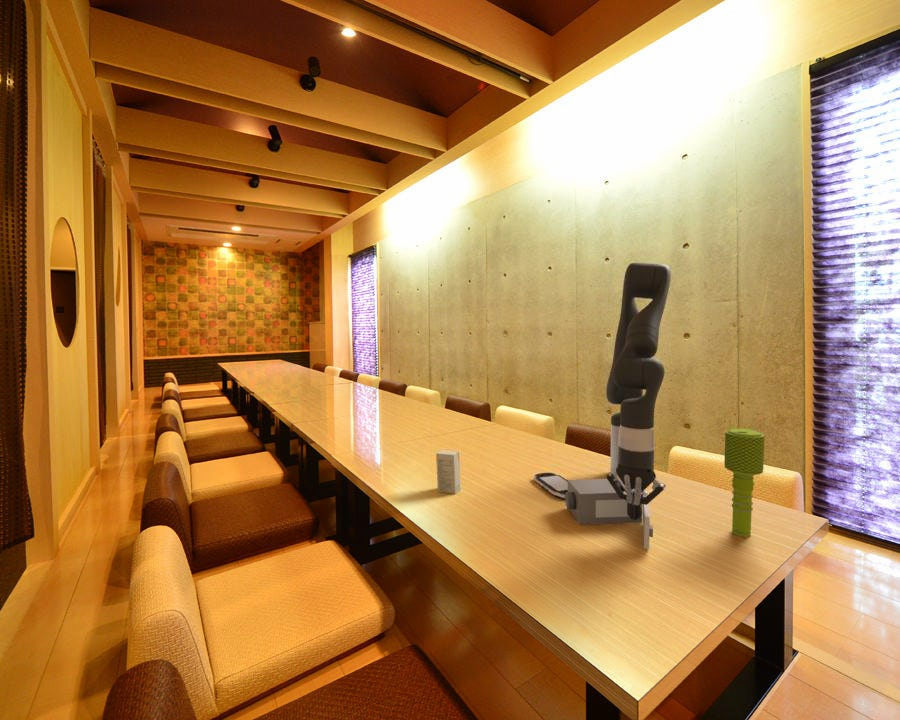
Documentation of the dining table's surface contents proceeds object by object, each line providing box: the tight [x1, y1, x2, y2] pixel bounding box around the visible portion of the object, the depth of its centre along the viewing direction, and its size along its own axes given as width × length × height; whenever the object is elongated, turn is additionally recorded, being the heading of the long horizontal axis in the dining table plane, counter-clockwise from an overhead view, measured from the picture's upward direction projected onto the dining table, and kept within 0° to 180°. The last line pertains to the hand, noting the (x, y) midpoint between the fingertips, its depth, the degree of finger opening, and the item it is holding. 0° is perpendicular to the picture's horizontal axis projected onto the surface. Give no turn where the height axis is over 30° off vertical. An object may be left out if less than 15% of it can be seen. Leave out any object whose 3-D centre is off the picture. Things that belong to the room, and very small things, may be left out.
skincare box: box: [435, 449, 462, 495], centre depth 131 cm, size 6×4×12 cm
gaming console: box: [533, 472, 569, 500], centre depth 132 cm, size 19×9×2 cm, turn 15°
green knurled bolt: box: [723, 428, 766, 538], centre depth 101 cm, size 8×8×25 cm
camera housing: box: [564, 478, 643, 526], centre depth 112 cm, size 10×18×9 cm, turn 92°
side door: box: [642, 490, 654, 550], centre depth 100 cm, size 2×14×8 cm, turn 157°
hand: (634, 518), depth 98 cm, fingers closed
